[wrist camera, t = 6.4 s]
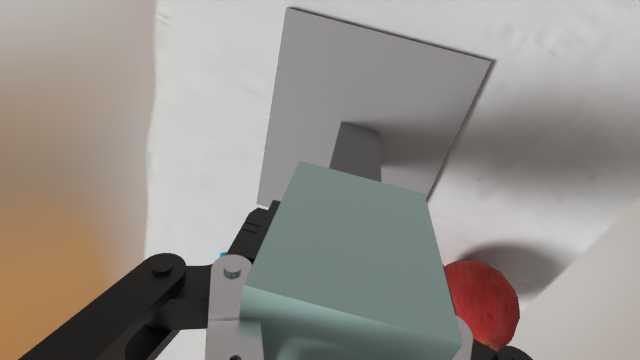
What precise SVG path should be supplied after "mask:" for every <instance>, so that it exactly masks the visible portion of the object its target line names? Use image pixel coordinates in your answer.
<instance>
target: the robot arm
mask: <svg viewBox="0 0 640 360" xmlns="http://www.w3.org/2000/svg"><path fill="white" fill-rule="evenodd" d="M280 203H281V201H277V200H273V201H272V203H271V205H270V207H269V209H268V210H265V209H261V208H257V209H255V210H254V211H252V212H251V213H249V215H248V217H247V218H246V220H245V223H244V224H243V226H242V227H241V230H240V231H239V233H238V234H237V236H236V238H235V240H234V241H233V243H232V245H231V247H230V249H229V250H228V252H227V254H226V255H225V256H222V257H220V258H219V259H217V260H216V261H215V262H214V263H213V264H211V265H206V266H186V263H185V261H184V260H183V259H182V258H181V257H180V256H178V255H175V254H171V253H161V254H156V255H154V256H151V257H149V258H148V259H146V260H145V261H143V262H142V263H141V264H140V265H138V266H137V267H136V268H135V269H133V270H132V271H131V272H129V273H128V274H127V275H126V276H124V277H123V278H122V279H120V280H119V281H118V282H117V283H115V284H114V285H113V286H112V287H110V288H109V289H108V290H107V291H105V292H104V293H103V294H101V295H100V296H99V297H98V298H96V299H95V300H94V301H92V302H91V303H90V304H89V305H87V306H86V307H85V308H84V309H82V310H81V311H80V312H78V313H77V314H76V315H74V316H73V317H72V318H71V319H69V320H68V321H67V322H66V323H64V324H63V325H62V326H60V327H59V328H58V329H57V330H55V331H54V332H53V333H52V334H50V335H49V336H48V337H46V338H45V339H44V340H43V341H42V342H40V343H39V344H38V345H36V346H35V347H34V348H33V349H31V350H30V351H29V352H27V353H26V354H25V355H23V356H22V357H21V358H20V359H18V360H155V359H156V358H157V357H158V355H159V354H160V353H161V352H162V351H163V350H164V349H165V347H166V346H167V345H168V344H169V343H170V342H171V341H172V339H173V338H174V337H175V336H176V335H177V334H178V333H179V331H180V330H185V329H205V328H207V334H206V350H205V360H264V355H263V343H262V332H261V322H260V318H253V317H246V318H239V313H240V307H241V300H242V293H243V286H244V283H245V281H246V279H247V277H248V274H249V272H250V270H251V268H252V265H253V263H254V261H255V259H256V256H257V254H258V252H259V250H260V247H261V245H262V243H263V241H264V239H265V236H266V234H267V232H268V230H269V227H270V225H271V223H272V221H273V218H274V216H275V214H276V212H277V209H278V207H279V205H280ZM442 265H443V264H442ZM443 268H444V265H443ZM444 272H445V276H446V277H447V275H446V271H445V268H444ZM446 280H447V284H448V288H449V292H450V296H451V300H452V304H453V308H454V312H455V315H456V319H457V323H458V327H459V331H460V335H461V339H462V343H463V345H462V347H461V348H460V349H459V351H458V352H457V353H456V355H455V356H454V357H453V359H452V360H533V359H532V358H531V357H530V356H528V355H527V354H526V353H524V352H523V351H521V350H520V349H517V348H515V347H512V346H503V347H501V348H500V349H499V350H498V352H497V351H495V350H493V349H491V348H490V347H488V346H486V345H484V344H482V343H481V342H479V341H477V340H476V339H474V338H473V335H472V332H471V330H470V328H469V327H468V325H467V324H466V323H465V322H464V321H463V320H462V319H461V318H460V317H458V316H457V313H456V309H455V306H454V302H453V298H452V294H451V290H450V287H449V283H448V279H447V278H446Z"/></svg>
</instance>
